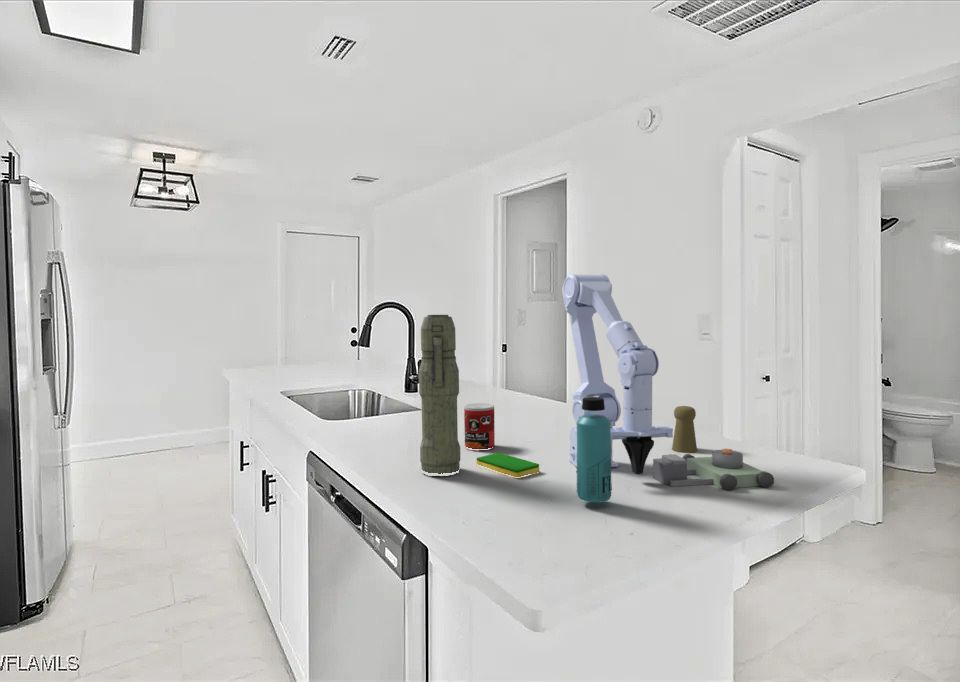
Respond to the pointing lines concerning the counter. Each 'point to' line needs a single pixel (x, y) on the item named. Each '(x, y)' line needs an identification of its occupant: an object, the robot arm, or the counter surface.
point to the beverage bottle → (593, 453)
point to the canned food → (479, 426)
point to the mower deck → (724, 471)
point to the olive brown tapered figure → (684, 430)
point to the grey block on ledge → (669, 468)
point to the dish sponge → (508, 464)
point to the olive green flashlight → (439, 396)
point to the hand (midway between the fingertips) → (637, 472)
